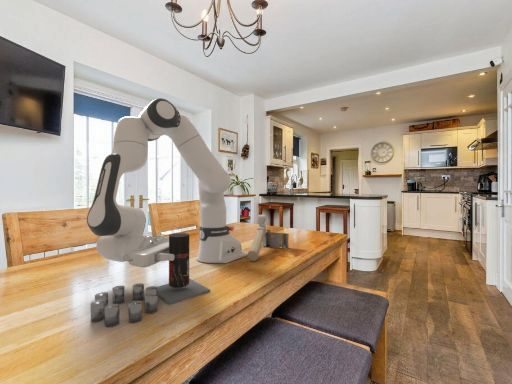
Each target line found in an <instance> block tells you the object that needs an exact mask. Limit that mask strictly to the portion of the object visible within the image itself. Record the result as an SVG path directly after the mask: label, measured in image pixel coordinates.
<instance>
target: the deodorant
mask: <svg viewBox="0 0 512 384" xmlns="http://www.w3.org/2000/svg"><path fill="white" fill-rule="evenodd" d="M168 238H169V254H170V253H175V254H176V259H175V260H173V261H169V260H168V284H169V286H170V287H173V288H180V287H185V286H187V285H189V279H190V233H187V232H186V233H185V232H177V233H171V234H168Z"/></svg>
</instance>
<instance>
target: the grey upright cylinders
mask: <svg viewBox="0 0 512 384" xmlns="http://www.w3.org/2000/svg"><path fill="white" fill-rule="evenodd" d="M131 287H132V301H131V302H129V303H128V305H127V306H128V309H127V310H128V323H130V324H136V323H139V322H141V321H142V320H143V301H144V313H145V314H147V315H148V314H149V315H150V314H155V313H157V312H158V308H159V307H158V306H159V305H158V299H159V298H158V296H157V286H156V285H150V286H147V287H146V288H145V284H144V283H142V282H140V283H135V284H132V286H131ZM125 288H126V287H125V285H117V286H113V287H112V294H111V295H112V303H111V304H109V292H105V291H104V292H103V291H102V292H99V293H96V294H95V295H94V301H92V302H90V304H89V305H90V308H89V309H90V322H91V323H99V322H102V321H104V326H105V327H106V328H113V327H116V326H118V325H119V323H120V305H121V304H123V303H125V302H126V300H125V299H126V296H125V295H126V291H125Z"/></svg>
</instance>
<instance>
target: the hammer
mask: <svg viewBox="0 0 512 384" xmlns="http://www.w3.org/2000/svg"><path fill="white" fill-rule="evenodd" d="M266 221H267V217H266V214H258V215H257V222H258V226H257V230H256V233H255V235H254V238H253V240H252V243H251V246H250V248H249V250H248V253H247V258H248V260H249V261H251V262H257V261H258V258H259V256H260V253H261V249H262V246H265V247H264V248H266V232H267V231H266V229H267V226H266V223H265V222H266Z"/></svg>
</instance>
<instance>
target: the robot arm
mask: <svg viewBox="0 0 512 384" xmlns="http://www.w3.org/2000/svg"><path fill="white" fill-rule="evenodd" d="M164 135H166V136H167V137H168V138H170V140H171V141H172V142H173V144H174V145H175V148H176V149H177V150H178V153H179V154H180V156H181V157H182V158H183V160H184V161H185V164H186V165H187V166H188V167H189V169H190V170H191V171H192V172H193V174H194V175H195V176H196V178H197V179H198V180H197V182H198V184H197V185H198V196H199V197H198V199H199V207H200V209H199V211H200V214H199V215H200V217H199V219H200V224H199V227H198V228H199V230H198V233H199V235H198V236H199V247H198V252H197V256H196V260H197V261H198V262H202V263H207V264H217V263H218V264H227V263H230V262H233V261H236V260H238V259H241V258H245V257H248V253H247V251H244V250H243V246H242V243H241V241H240V240H239V239H237V238H236V237H235V236H233V235H232V234H231V233H230V231H231V232H234V230H235V227H234V226H232V225H230V226H228V225H227V206H226V201H225V192H226V191H227V190H228V189H229V187H230V185H231V176H230V175H229V173H228V172H227V171H226V170H225V168H224V167H223V165H222V164H221V162H220V161H218V159H217V158H216V157H215V155H214V154H213V153H212V151H211V150H210V148H209V147H208V145H207V144H206V142H205V141H204V138H203V137H202V135H201V134H200V133H199V130H198V129H197V128H196V126H195V125H194V124H193V123H192V122H191V120H190V119H189V118H188V117H187V116H185V115H183V114H180V112H179V110H178V109H177V108H176V107H175V105H174V104H173V103H172V102H171V101H169V100H167V99H165V98H161V97H160V98H155V99H154V100H151V101H150V102H149V103H148V104H147V105H146V106H145V107H144V108H143V109H142V111H141V112H140V114H139V115H138V117H136V116H129V115H127V116H124V117H121V118H120V119H118V121H117V125H116V127H115V132H114V135H113V136H114V137H113V143H112V144H113V146H112V151H111V153H110V154H108V155H107V156H106V157H105V159H104V160H103V163H102V165H101V168H100V172H99V176H98V179H97V184H96V189H95V193H94V197H93V201H92V204H91V206H90V208H89V210H88V213H87V216H86V223H87V226H88V228H89V230H90V231H91V232H92V233H93V234H94V235H95V236H97V237H99V238H98V239H97V241H96V246H95V247H96V251H97V253H98V255H100V256H101V257H102V258H104V259H106V260H108V261H112V262H118V263H125V262H127V263H128V265H130V266H133V267H138V268H148V267H151V266H153V265H156V264H157V263H160V262H166V261H168V262H169V261H173V260H175V259H176V254H175V253H170V254H169V237H165V235H162V234H160V235H144V231H145V227H146V224H147V223H146V222H147V221H146V220H147V219H146V215H145V212H144V211H143V210H142V209H140V208H139V207H134V206H128V205H123V204H122V205H121V204H118V202H117V194H118V192H119V190H118V189H119V186H120V181H121V178H122V176H123V174H126V173H134V172H137V171H139V170H141V169H143V167H144V166H145V165H146V164H147V161H148V157H149V156H148V154H149V153H148V149H149V148H148V147H149V142H153V141H157V140H158V139H160V137H162V136H164Z"/></svg>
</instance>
